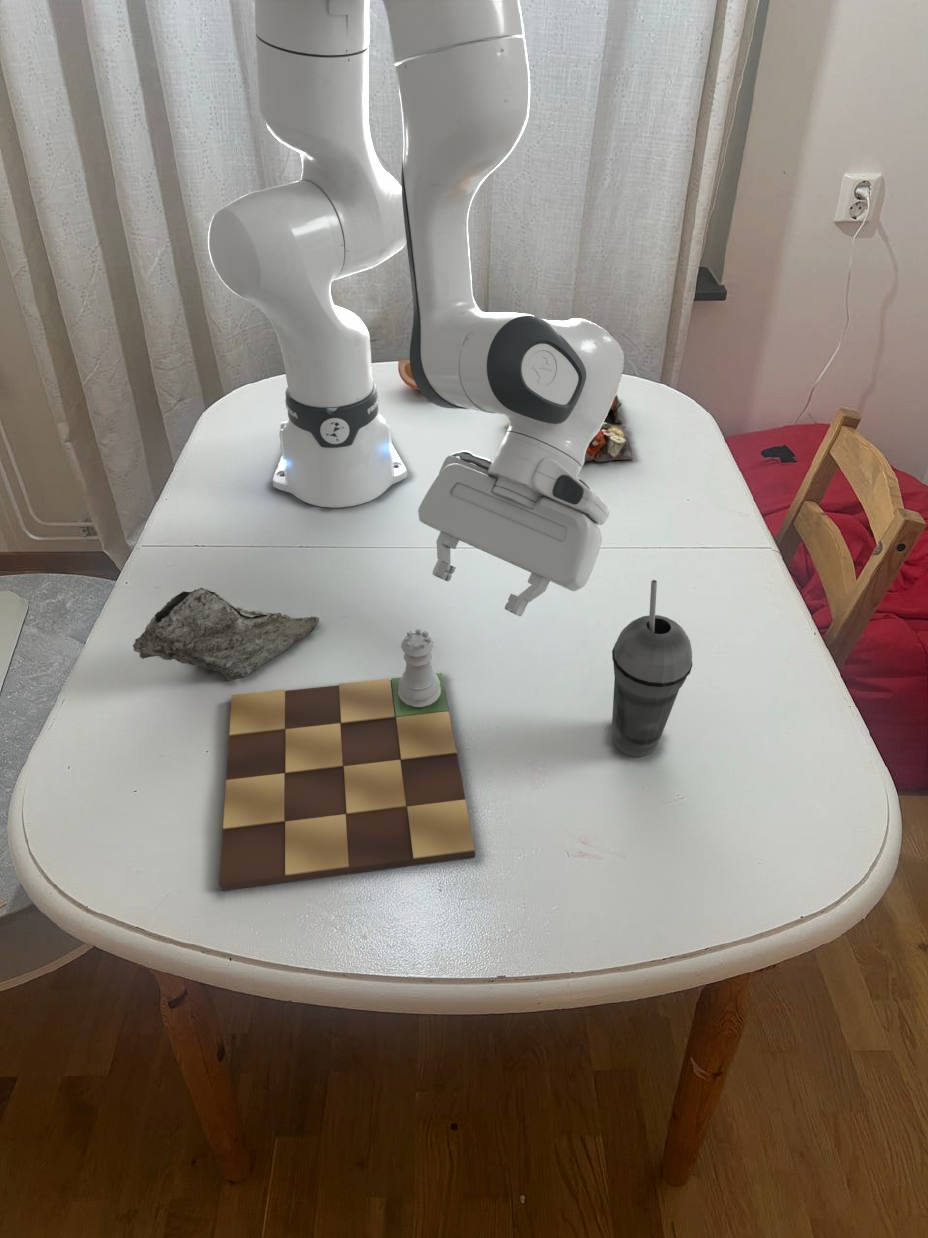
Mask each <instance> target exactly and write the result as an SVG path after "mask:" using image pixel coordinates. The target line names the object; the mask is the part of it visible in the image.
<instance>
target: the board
mask: <svg viewBox="0 0 928 1238" xmlns="http://www.w3.org/2000/svg"><path fill="white" fill-rule="evenodd" d="M435 674H436V675H437V677H438V679H439V681H440V687H441V694H440V696H439V698H438V699H437V700H436V701H435V702H434V703H432V704H431V705H429V706H426V707H423V708H419V707H412V706H409V705H407V704H406V703H404V702H403V701H402V700H401V699H400V697H399V695H398V686H399V680H400V678H401V677H402V676H399V677H392V678H391V677H390V678H380V679H372V680H363V681H352V682H341V683H338V684H336V685H325V686H318V687H310V688H308V687H307V688H299V689H298V688H297V689H289V690H288V689H287V690H285V689H277V690H268V691H266V690H265V691H258V692H256V691H255V692H248V693H239V694H232V695H231V702H230V716H229V717H230V718H229V730H228V732H229V733H228V746H227V747H228V748H227V764H226V779H225V790H224V791H225V792H224V805H223V818H222V819H223V821H222V836H221V838H222V839H221V850H220V851H221V852H220V865H219V866H220V867H219V879H218V881H219V882H218V885H219V888H220V891H229V890H237V889H245V888H251V887H260V886H267V885H273V884H275V885H276V884H283V883H290V882H297V881H306V880H313V879H321V878H326V877H327V878H328V877H336V876H342V875H350V874H351V875H352V874H359V873H365V872H367V873H368V872H373V871H382V870H390V869H396V868H405V867H411V866H412V867H413V866H419V865H420V866H421V865H428V864H435V863H442V862H450V861H457V860H465V859H472V858H475V857H476V847H475V841H474V838H473V837H474V836H473V831H472V826H471V820H470V815H469V811H468V805H467V799H466V794H465V789H464V783H463V779H462V774H461V768H460V762H459V757H458V751H457V746H456V741H455V735H454V730H453V725H452V720H451V719H452V718H451V713H450V708H449V704H448V698H447V694H446V688H445V682H444V678H443V673H442V672H438V673H435Z"/></svg>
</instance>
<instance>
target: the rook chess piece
mask: <svg viewBox="0 0 928 1238" xmlns="http://www.w3.org/2000/svg"><path fill="white" fill-rule="evenodd" d="M414 630H415V631H414V632H413V631H412V630H409V631H408V632H406V635H404V638H403V640H402V641H401V642H400V643H401V644H400V648H401V651H402V652H403V659H404V661H405V670H404V672H403V673H402V674H401V676H400V677H401V678H400V680H399V686H398V695H399V697H400V699H401V700H402V701H403V702H404V703H406V704H407V705H409V706H412V707H419V708H423V707H426V706H429V705H431V704H432V703H434V702H435V701H436V700H437V699H438V698H439V696H440V694H441V687H440V681H439V679H438V677H437V675H436V674H437V673H435V671H434V670H433V668H432V663H431V660H432V659H433V653H432V651H433V649H434V648H435V642H434V640H433V638H431V636H430V635H429V632H428V631H426V630H424V631H423V632H421V628H415V629H414Z"/></svg>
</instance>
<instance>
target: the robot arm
mask: <svg viewBox="0 0 928 1238" xmlns="http://www.w3.org/2000/svg"><path fill="white" fill-rule="evenodd" d="M381 1H382V3H383V6H384V11H385V14H386V19H387V23H388V30H389V38H390V45H391V51H392V57H393V62H394V66H395V73H396V80H397V86H398V92H399V100H400V108H401V117H402V119H401V120H402V133H403V149H402V151H403V152H402V160H401V175H400V176H401V177H400V178H401V181H400V182H401V183H399V182H398V181H397V179H395V177H394V176H393V175H391V174H390V173H389V172H388V171H386V170H385V168H384V167H383V166H382V164H381V163H380V161H379V158H378V157H377V153H376V151H375V148H374V145H373V141H372V136H371V130H370V123H369V61H370V60H369V59H370V2H371V0H254V22H255V23H254V24H255V28H254V29H255V48H256V66H257V67H256V69H257V86H258V87H257V89H258V107H259V108H258V109H259V112H260V115H261V118H262V120H263V122H264V124H265V126H266V128H267V129H268V131H269V132H270V133H271V134H272V136H273V137H274V138H275V139H276V140H278V141H279V142H280V143H281V144H283V145H284V146H286V147H287V148H290V149H292V150H293V151H296V152H297V153H299V154H300V161H301V176H300V179H298V180H297V181H293V182H290V183H289V182H288V183H285V184H281V185H275V186H272V187H268V188H263V189H260V190H255V191H252V192H249V193H247V194H245V195H243V196H240V197H239V198H236V199H235V200H233V201H231V202H230V203H228V204H226V205H224V206H223V207H221V208H220V209H217V210H216V211H215V213H214V214H213V216H212V219H211V221H210V224H209V228H208V234H207V246H208V247H207V248H208V253H209V256H210V257H209V258H210V261H211V263H212V266H213V268H214V270H215V273H216V274H217V276H218V278H219V279H220V280H221V282H222V283H223V284H224V285H225V286H226V287H227V288H228V289H229V290H230V291H231V292H233V293H234V294H235V295H237V296H238V297H240V298H241V299H243V300H246V301H248V302H249V303H251V304H253V305H254V306H255V307H257V308H258V309H259V310H260V311H261V312H262V313H263V314H264V315H265V316H266V318H267V319H268V320H269V322H270V324H271V326H272V328H273V329H274V331H275V334H276V336H277V340H278V343H279V348H280V351H281V356H282V361H283V366H284V367H283V368H284V373H285V379H286V388H285V392H284V395H285V400H284V401H285V407H286V411H287V417H288V420H287V421H284V420H283V421H281V422H280V429H279V435H278V436H279V440H280V441H279V442H280V448H281V456H280V459H279V461H278V464H277V465H276V468H275V471H274V474H273V477H272V486H273V488H274V489H276V490H280V491H283V492H286V493H290V494H291V495H293V496H294V497H296V498H297V499H299V500H300V501H302V502H304V503H307V504H308V505H312V506H316V507H322V508H330V509H331V508H332V509H333V508H338V509H339V508H348V507H355V506H359V505H363V504H366V503H368V502H371V501H374V500H375V499H377V498H378V497H379V496H381V495H383V494H384V493H385V492H386V491H387V490H389V488H390V487H391V486H392V485H394V484H397V483H398V482H401V481H403V480H405V479H406V478H407V477H408V470H407V467H406V465H405V464H404V462H403V460H402V459H401V457H400V456H399V454H398V452H397V450H396V448H395V447H394V445H393V442H392V432H391V426H390V424H388V423H387V420H386V419H385V418H384V417H383V416H382V415H381V413H380V412H379V393H378V389H377V384H376V383H375V381H374V379H373V377H374V376H373V368H372V367H373V364H372V350H371V337H370V333H369V331H368V328H367V326H366V325H365V323H364V322H363V321H362V319H361V318H360V317H359V316H358V315H357V314H355V313H354V312H352V311H350V310H349V309H346V308H344V307H341V306H338V305H336V304H334V301H333V297H332V294H331V286H332V282H335V281H337V280H339V279H342V278H345V277H348V276H351V275H354V274H357V273H360V272H364V271H367V270H370V269H373V268H375V267H377V266H378V265H380V264H382V263H383V262H385V261H386V260H388V259H390V258H391V257H392V256H394V255H395V254H397V253H398V252H400V251H401V250H403V248H404V247H405V246H406V248H407V258H408V259H407V260H408V266H409V267H408V268H409V276H410V286H411V294H412V307H413V320H412V328H411V329H412V330H411V336H410V344H409V360H410V367H411V372H412V376H413V379H414V381H415V383H416V385H417V387H418V389H419V390H418V391H419V392H420V393H421V394H422V395H423V397H424V398H425V399H427V400H428V401H429V402H431V404H434V405H435V406H438V407H441V408H443V409H455V410H456V409H457V410H473V411H479V412H483V413H488V414H498V415H504V416H506V417H507V418H508V419H509V422H510V426H509V428H508V427H507V428H506V430H505V434H504V435H503V438H502V440H501V442H500V445H499V447H498V448H497V451H496V453H495V454H494V456H493V459H489V458H486V457H483V456H480V455H476V454H474V453H473V452H471V451H468V450H461V451H458V452H453V453H451V454H449V455H447V457H445V459H444V461H443V463H442V465H441V467H440V470H439V472H438V475H437V476H436V478H435V479H434V481H433V482H432V484H431V485H430V487H429V489H428V490H427V492H426V493H425V495H424V497H423V499H422V501H421V502H420V504H419V507H418V509H417V512H418V518H419V519H418V520H419V522H421V523H422V524H423V525H426V526H427V527H430V528H432V529H433V530H436V531H437V532H439V535H438V536H437V538H436V555H437V558H436V559H437V561H436V563H435V566H434V568H433V570H432V576H434V577H436V578H438V579H440V580H444V581H445V582H449V581H451V579H452V577H453V576H452V575H453V574H454V573H455V571H456V568H457V567H456V566H453V565H451V549H453V550H456V548H457V546H458V544H459V542H462V543H465V544H467V545H469V546H471V547H473V548H476V549H478V550H481V551H482V552H484V553H487V554H489V555H491V556H493V557H495V558H498V559H500V560H502V561H504V562H507V563H509V564H510V565H513V566H516V567H518V568H520V569H522V570H524V571H527V572H529V573H530V575H529V577H528V580H527V583H528V584H530V585H529V587H526V589H525V590H523V591H521V593H519V594H518V595H515V594H513V593H510V594H509V597H508V599H507V600H508V601H507V602H506V603H505V605H504V610H505V611H507V612H510V613H511V614H514V615H516V616H518V617H522V616H523V615H524V613H525V610H526V608H527V606H528V604H529V603H531V602H532V601H533V600H535V599H536V598H538V597H539V596H541V595H542V594H544V593H545V592H546V591H547V588H548V586H549V584H550V582H551V583H553V584H555V585H557V586H560V587H561V588H564V589H565V590H566V589H567V590H568V591H571V592H576V591H579V590H580V589H582V588H584V587H585V586H586V585H587V582H588V581H589V579H590V576H591V575H592V572H593V569H594V567H595V565H596V562H597V560H598V556H599V552H600V549H601V546H602V542H603V541H602V539H603V538H602V531H601V529H600V528H599V526H602V525H604V524H605V523H606V522H607V520H608V518H609V515H610V509H609V507H608V506H607V504H606V503H605V502H604V501H603V499H602V498H601V497H600V496H599V495H597V493H595V492H594V491H592V490H591V487H589V485H588V484H586V482H585V481H583V480H582V479H580V478H579V475H580V473H581V471H582V469H583V467H584V464H585V463H584V460H585V454H586V450H587V448H588V445H589V444H590V442H591V440H592V439H593V438H594V437H595V436H596V435H597V433H598V432H599V431H600V429H601V427H602V425H603V423H605V420H606V418H607V416H608V414H609V412H610V410H611V409H610V407H611V405H612V403H613V400H614V398H615V395H616V392H617V393H618V390H619V386H620V383H621V380H622V376H623V371H624V366H625V365H624V364H625V353H624V351H623V348H622V347H621V344H619V342H618V341H617V339H616V338H615V337H614V336H613V335H612V334H611V333H610V332H609V331H608V330H607V329H605V328H603V327H602V326H600V325H599V324H597V323H596V322H593V321H590V320H588V319H586V318H579V317H573V318H570V319H568V320H549V319H544V318H541V317H539V316H535V315H533V314H528V313H521V312H507V311H503V312H502V311H501V312H499V311H498V312H497V311H496V312H485V311H482V310H481V309H480V308H479V307H478V305H477V303H476V301H475V298H474V295H473V294H474V293H473V283H472V270H471V269H472V268H471V255H470V254H471V253H470V243H469V241H470V240H469V227H468V226H469V225H468V224H469V223H468V221H469V214H470V213H469V212H470V208H471V205H472V203H473V199H474V197H475V195H476V193H477V191H478V190H479V189H480V187H481V186H482V184H483V183H484V182H485V180H486V179H487V178H488V176H490V174H492V173H493V172H494V171H495V170H496V169H497V168H498V167H499V166H500V165H501V164H502V163H503V162H504V161H505V160H506V159H507V158H508V157H509V156H510V154H511V153H512V151H513V150H514V149H515V147H517V144H518V142H519V141H520V139H521V137H522V134H523V133H524V131H525V129H526V126H527V123H528V120H529V113H530V101H531V100H530V99H531V78H530V77H531V75H530V67H529V60H528V52H527V44H526V38H525V27H524V21H523V16H522V8H521V3H520V0H381Z"/></svg>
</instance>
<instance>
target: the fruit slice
mask: <svg viewBox="0 0 928 1238" xmlns="http://www.w3.org/2000/svg"><path fill="white" fill-rule="evenodd" d="M397 363H398V364H397V369H398V370H397V371H398V374H399V377H400V378H401V380H402V381H403V383H404V384H405V385H407V386H408V387H410V388H412V389H414V390H417V391H420V390H419V389H418V387H417V385H416V383H415V381H414V379H413V376H412V372H411V367H410V358H409V359H407V358H406V359H405V358H399V359H398V362H397Z"/></svg>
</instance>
